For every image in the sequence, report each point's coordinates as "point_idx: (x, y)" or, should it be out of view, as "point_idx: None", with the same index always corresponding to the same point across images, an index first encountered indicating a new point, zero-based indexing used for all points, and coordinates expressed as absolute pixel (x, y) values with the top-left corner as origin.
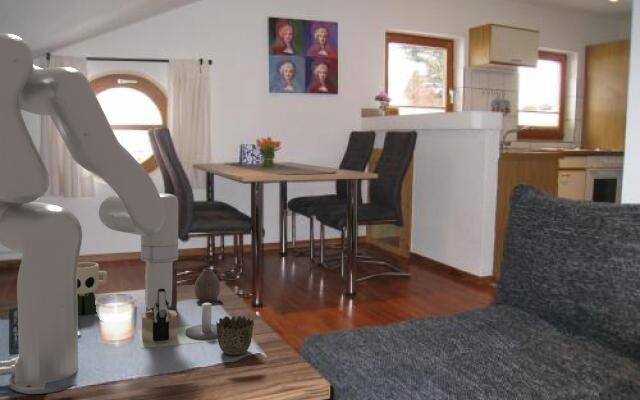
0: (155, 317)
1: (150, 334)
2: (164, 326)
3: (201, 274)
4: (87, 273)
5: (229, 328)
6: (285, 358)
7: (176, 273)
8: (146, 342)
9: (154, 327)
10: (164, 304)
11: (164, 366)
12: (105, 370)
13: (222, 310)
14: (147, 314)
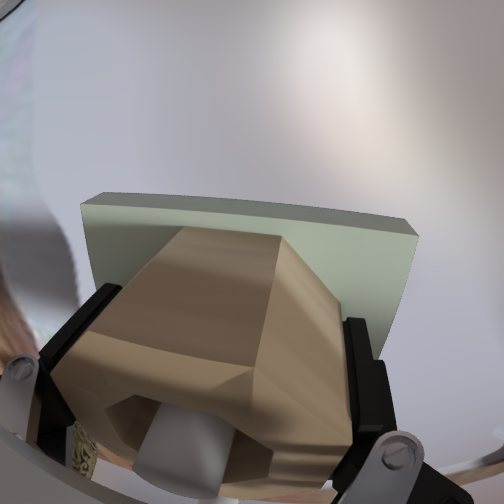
0: (4, 385)
1: (120, 291)
2: None
3: None
4: None
5: (81, 471)
6: (98, 452)
7: None
8: (152, 243)
9: (61, 337)
10: None
11: (21, 260)
12: (13, 62)
13: (459, 469)
14: (194, 398)
